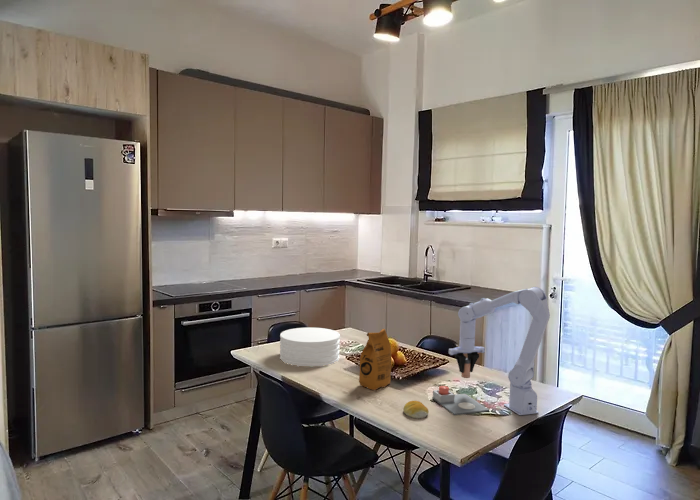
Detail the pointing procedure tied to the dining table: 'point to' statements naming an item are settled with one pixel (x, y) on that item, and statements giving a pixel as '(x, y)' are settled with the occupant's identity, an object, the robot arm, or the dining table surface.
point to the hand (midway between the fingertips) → (465, 371)
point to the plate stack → (309, 346)
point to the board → (458, 403)
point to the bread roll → (415, 409)
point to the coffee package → (376, 361)
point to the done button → (443, 390)
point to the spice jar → (466, 368)
